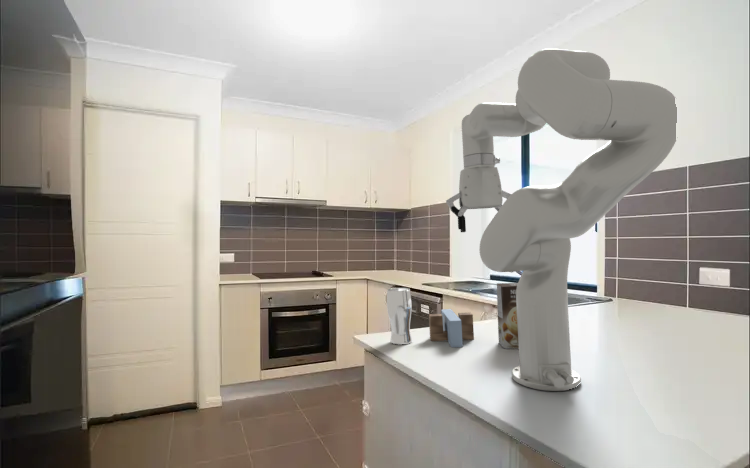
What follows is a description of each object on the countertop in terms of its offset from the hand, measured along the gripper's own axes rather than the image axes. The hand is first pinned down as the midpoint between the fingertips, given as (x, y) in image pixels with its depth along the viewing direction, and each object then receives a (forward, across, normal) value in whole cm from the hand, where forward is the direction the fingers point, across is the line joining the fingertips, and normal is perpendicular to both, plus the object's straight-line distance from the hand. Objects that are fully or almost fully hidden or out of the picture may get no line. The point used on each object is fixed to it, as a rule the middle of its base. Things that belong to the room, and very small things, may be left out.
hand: (482, 231), depth 98 cm
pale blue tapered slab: (+30, +7, -13) cm, 34 cm away
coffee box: (+31, -9, -4) cm, 32 cm away
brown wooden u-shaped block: (+30, +7, -13) cm, 34 cm away
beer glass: (+31, +22, -12) cm, 39 cm away
